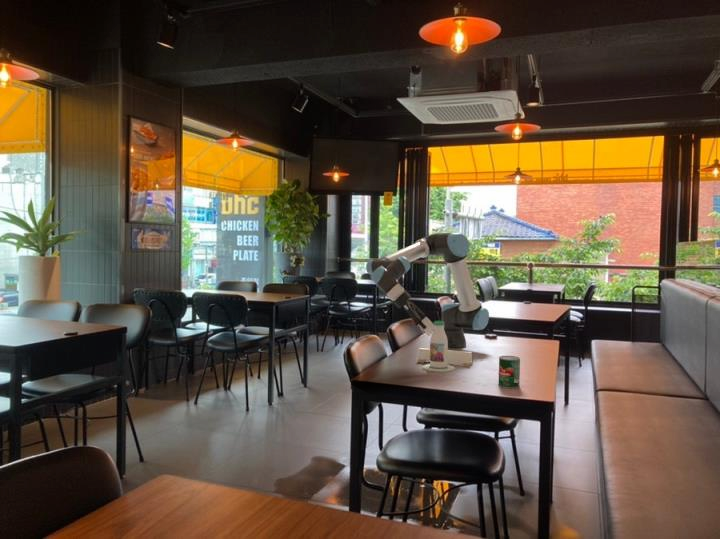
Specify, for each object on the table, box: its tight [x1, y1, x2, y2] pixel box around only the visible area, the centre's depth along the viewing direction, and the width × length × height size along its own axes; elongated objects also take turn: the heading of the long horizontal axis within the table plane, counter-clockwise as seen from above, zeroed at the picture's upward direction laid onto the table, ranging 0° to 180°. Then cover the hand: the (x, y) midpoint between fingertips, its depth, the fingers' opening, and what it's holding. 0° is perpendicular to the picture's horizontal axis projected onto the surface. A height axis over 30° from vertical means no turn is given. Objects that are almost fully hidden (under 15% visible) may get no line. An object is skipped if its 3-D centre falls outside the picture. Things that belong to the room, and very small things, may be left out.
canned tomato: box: [498, 355, 521, 389], centre depth 219 cm, size 8×8×11 cm
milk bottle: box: [429, 320, 449, 368], centre depth 249 cm, size 8×8×20 cm
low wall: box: [417, 347, 473, 368], centre depth 260 cm, size 24×6×6 cm, turn 69°
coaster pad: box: [422, 363, 456, 373], centre depth 249 cm, size 14×14×1 cm
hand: (432, 331), depth 248 cm, fingers open, 13 cm apart
